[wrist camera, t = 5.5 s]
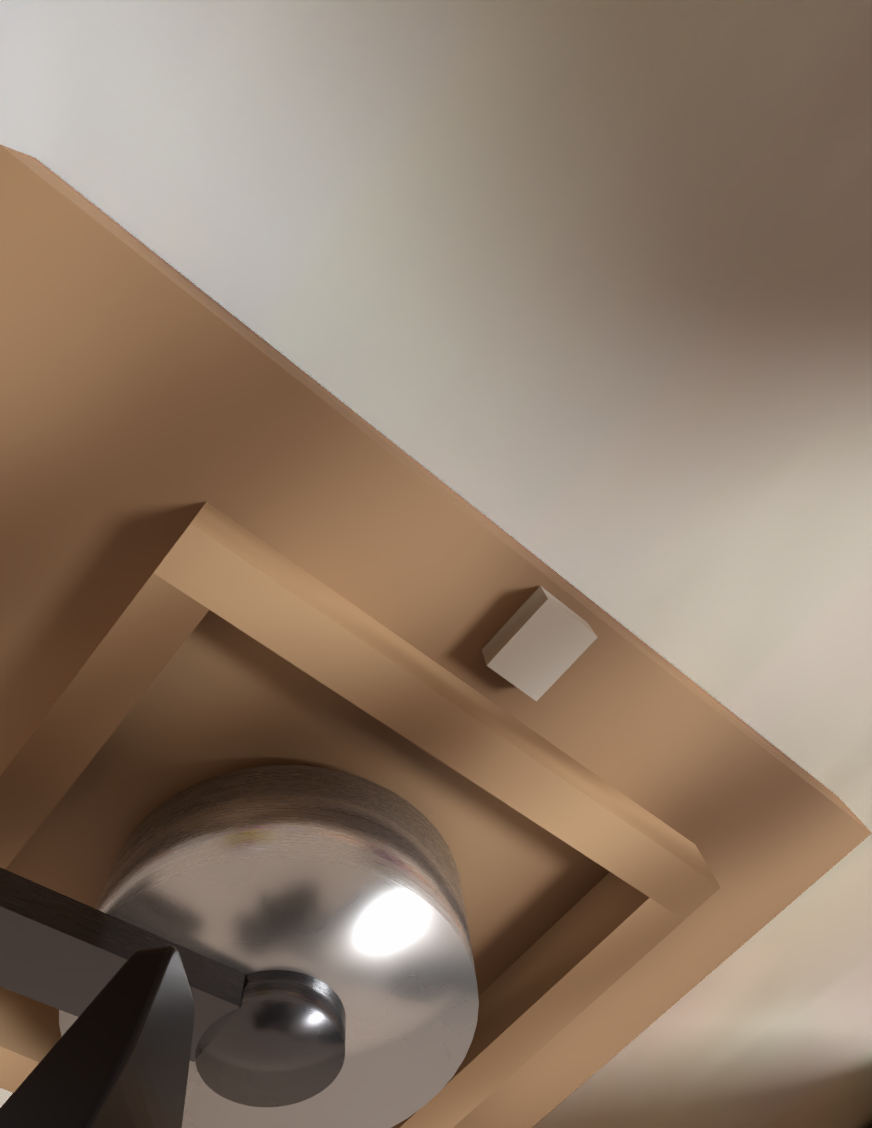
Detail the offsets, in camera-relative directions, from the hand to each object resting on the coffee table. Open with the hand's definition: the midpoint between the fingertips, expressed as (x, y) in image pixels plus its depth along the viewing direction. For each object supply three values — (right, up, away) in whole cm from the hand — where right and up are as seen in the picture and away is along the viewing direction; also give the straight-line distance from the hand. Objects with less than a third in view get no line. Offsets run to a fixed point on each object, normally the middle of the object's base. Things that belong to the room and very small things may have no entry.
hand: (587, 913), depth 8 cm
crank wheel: (-6, -2, +6) cm, 9 cm away
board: (-5, -1, +8) cm, 9 cm away
